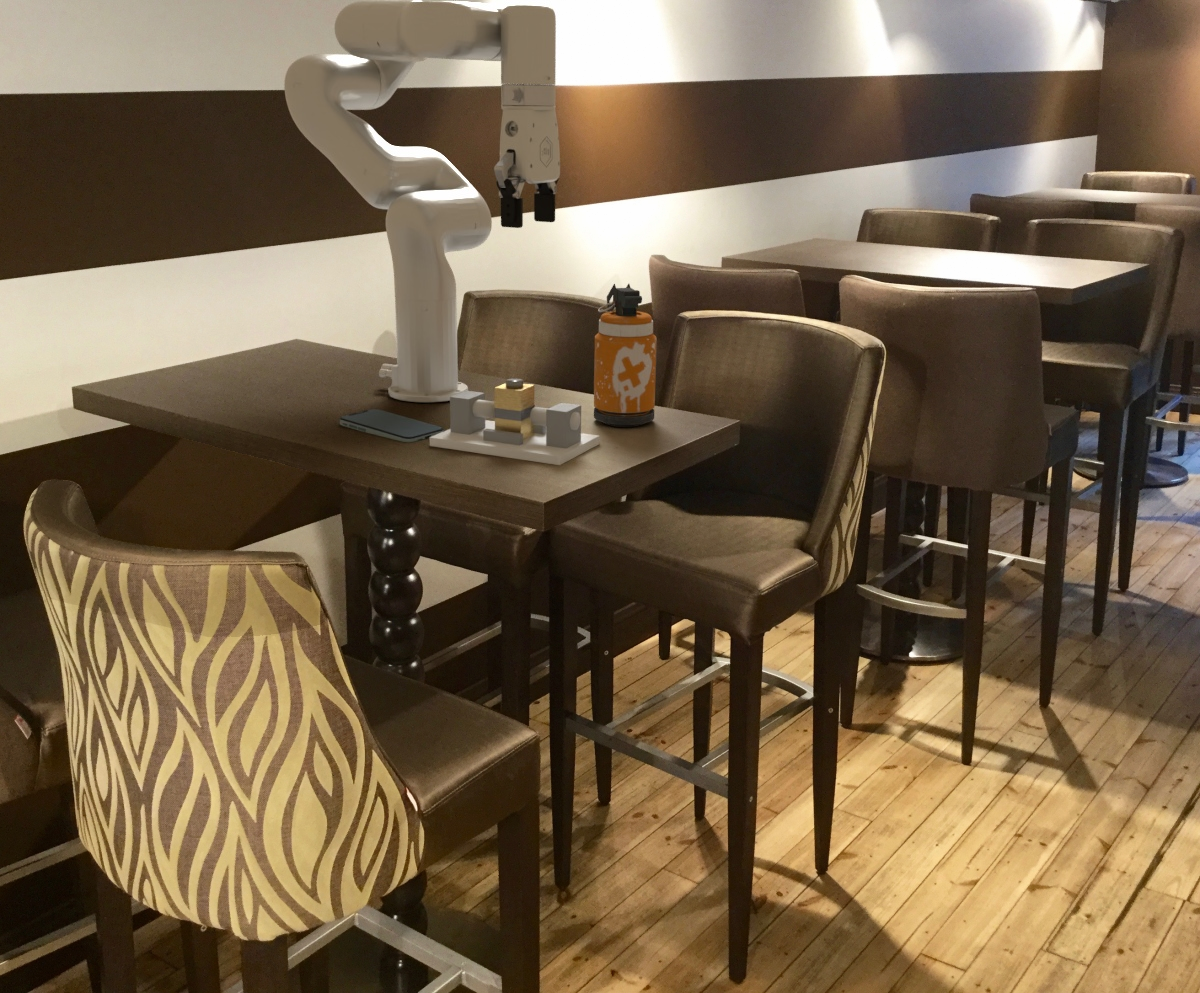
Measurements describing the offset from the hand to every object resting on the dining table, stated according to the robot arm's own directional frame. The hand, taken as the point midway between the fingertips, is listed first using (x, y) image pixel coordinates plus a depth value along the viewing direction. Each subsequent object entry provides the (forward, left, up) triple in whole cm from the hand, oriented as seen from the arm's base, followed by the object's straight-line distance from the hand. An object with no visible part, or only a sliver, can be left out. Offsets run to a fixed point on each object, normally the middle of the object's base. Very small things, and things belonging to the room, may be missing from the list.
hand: (528, 224), depth 182 cm
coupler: (+6, -15, -27) cm, 31 cm away
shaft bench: (+6, -15, -28) cm, 33 cm away
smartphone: (-14, -16, -29) cm, 36 cm away
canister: (+13, +5, -28) cm, 32 cm away
